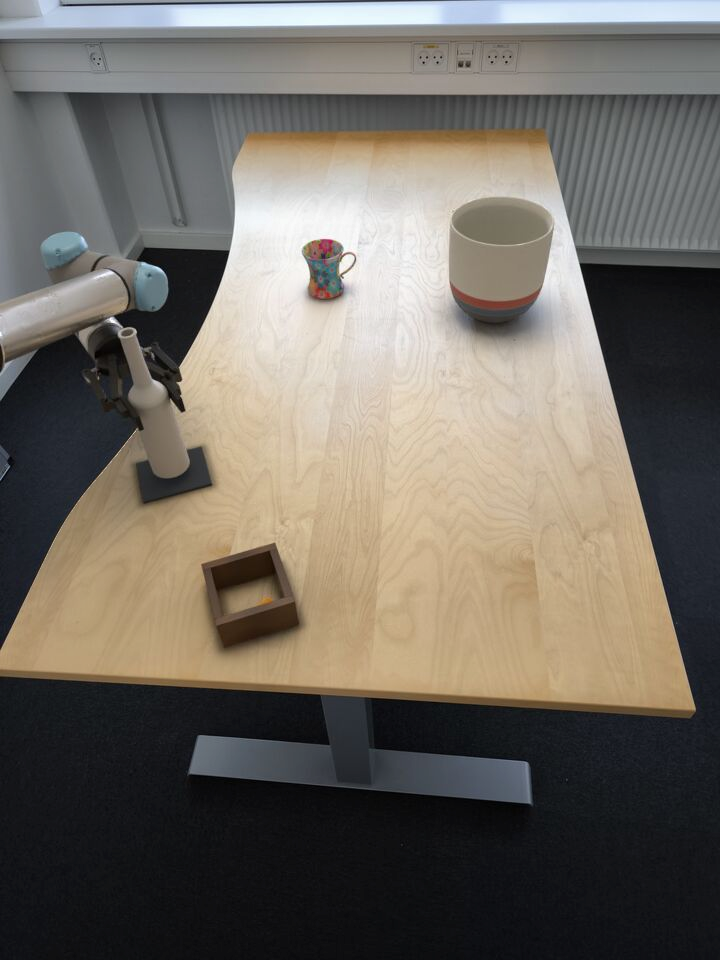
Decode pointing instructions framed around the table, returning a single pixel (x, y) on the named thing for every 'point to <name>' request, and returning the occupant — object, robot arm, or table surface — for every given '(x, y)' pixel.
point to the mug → (325, 267)
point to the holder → (255, 618)
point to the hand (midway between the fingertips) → (160, 414)
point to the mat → (174, 478)
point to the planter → (498, 256)
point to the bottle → (154, 414)
